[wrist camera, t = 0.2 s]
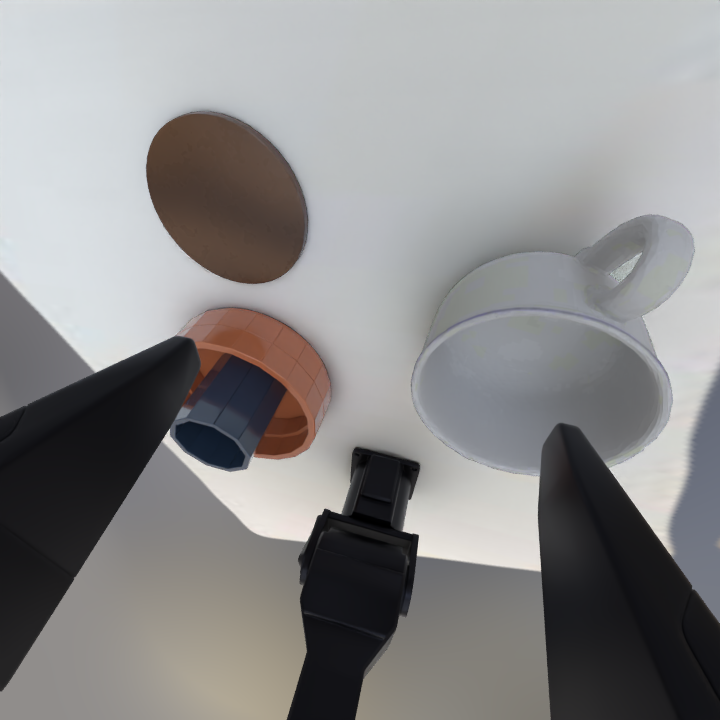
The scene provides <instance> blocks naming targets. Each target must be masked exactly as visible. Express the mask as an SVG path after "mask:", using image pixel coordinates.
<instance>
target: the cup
mask: <svg viewBox="0 0 720 720" xmlns="http://www.w3.org/2000/svg"><path fill="white" fill-rule="evenodd" d="M287 391H288V390H287V389H286V387H285V386H284V385H283V384H282V383H281V382H279V381H278V380H277V379H275V378H274V377H272V376H271V375H270V374H268V373H267V372H265V371H264V370H263V369H261V368H260V367H258V366H256V365H254V364H252V363H249V362H247V361H245V360H243V359H241V358H238V357H236V356H234V355H232V354H228V353H225V354H223V355H222V356H221V357H220V358H219V359H218V361H217V362H216V363H215V365H214V366H213V367H212V369H211V370H210V371H209V372H208V374H207V375H206V376H205V378H204V379H203V380H202V382H201V383H200V384H199V386H198V387H197V388H196V389H195V391H194V392H193V393H192V395H191V396H190V397H189V399H188V400H187V401H186V403H185V404H184V405H183V406H182V408H181V409H180V411H179V413H178V415H177V417H176V419H175V420H174V422H173V424H172V425H171V427H170V436H171V437H172V438H173V440H174V441H175V442H176V443H177V444H178V445H179V446H180V448H181V449H182V450H183V451H184V452H185V453H187V454H189V455H190V456H192V457H194V458H195V459H197V460H199V461H200V462H202V463H204V464H205V465H207V466H211V467H215V468H218V469H222V470H225V471H230V472H231V471H238V470H244V469H247V468H248V466H249V464H250V462H251V460H252V458H253V457H254V455H255V453H256V451H257V449H258V447H259V445H260V443H261V442H262V440H263V438H264V436H265V434H266V432H267V430H268V428H269V426H270V425H271V423H272V421H273V419H274V417H275V415H276V413H277V411H278V410H279V408H280V406H281V404H282V402H283V400H284V398H285V396H286V393H287Z"/></svg>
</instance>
